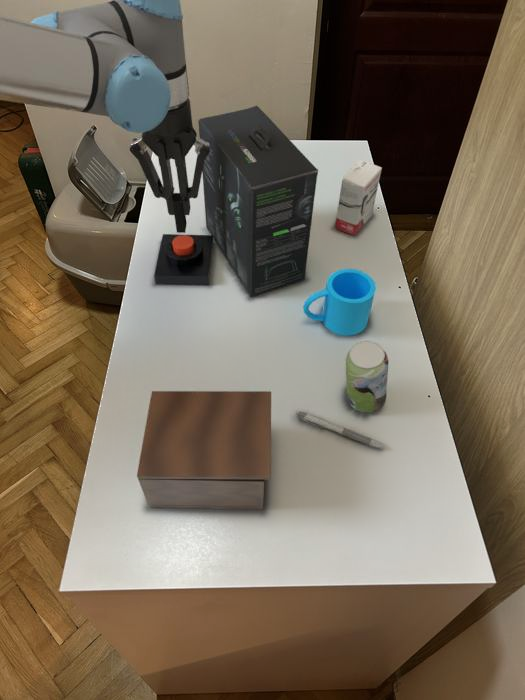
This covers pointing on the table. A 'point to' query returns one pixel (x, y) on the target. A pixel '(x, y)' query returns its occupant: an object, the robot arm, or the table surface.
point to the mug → (345, 302)
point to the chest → (204, 493)
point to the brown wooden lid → (207, 435)
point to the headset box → (257, 198)
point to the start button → (183, 245)
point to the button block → (184, 262)
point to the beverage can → (366, 376)
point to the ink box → (357, 197)
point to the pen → (338, 429)
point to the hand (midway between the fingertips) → (181, 227)
